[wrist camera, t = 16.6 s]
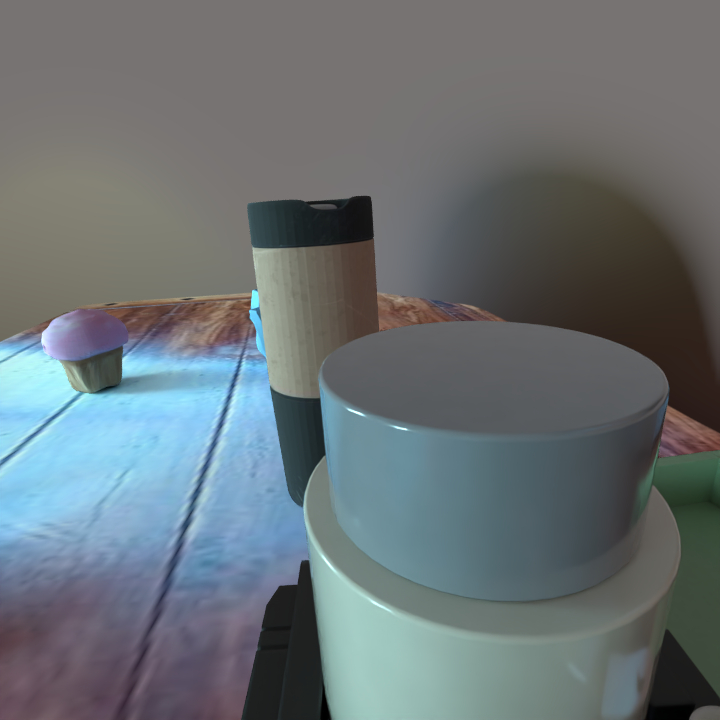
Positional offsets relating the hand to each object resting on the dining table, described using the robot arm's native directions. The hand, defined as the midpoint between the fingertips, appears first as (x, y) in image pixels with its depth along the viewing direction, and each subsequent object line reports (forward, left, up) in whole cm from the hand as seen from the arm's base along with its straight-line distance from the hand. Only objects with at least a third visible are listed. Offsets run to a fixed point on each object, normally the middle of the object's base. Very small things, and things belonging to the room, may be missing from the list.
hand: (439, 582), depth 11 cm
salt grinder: (+1, -2, -9) cm, 10 cm away
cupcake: (-52, +19, -11) cm, 56 cm away
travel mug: (-14, +15, -11) cm, 23 cm away
